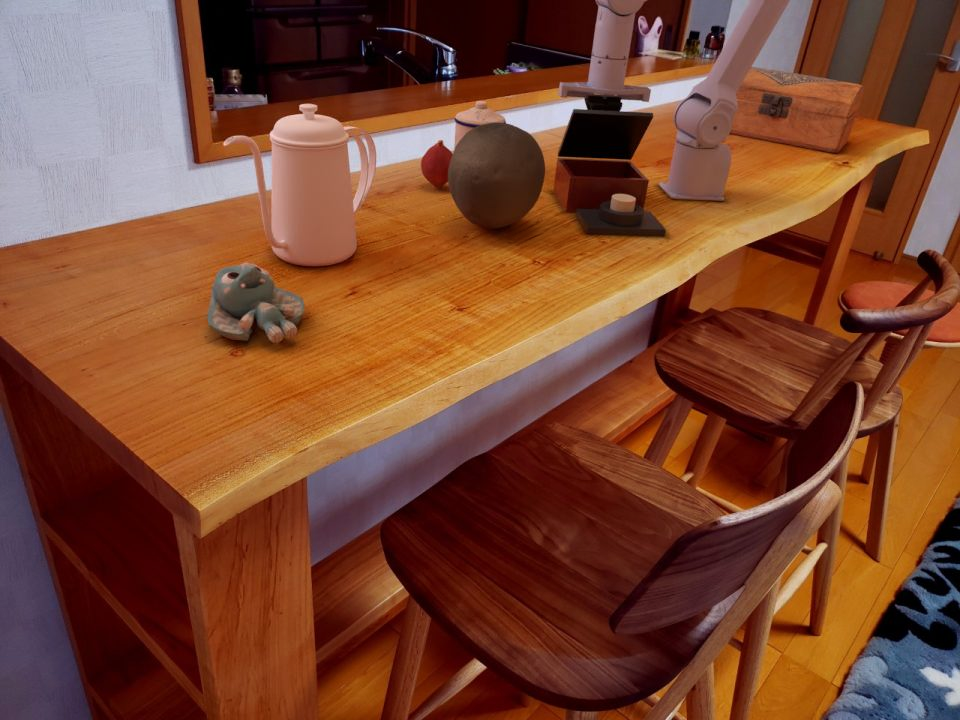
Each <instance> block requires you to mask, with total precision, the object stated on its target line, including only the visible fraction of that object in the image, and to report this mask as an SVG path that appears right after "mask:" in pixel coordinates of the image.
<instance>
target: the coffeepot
mask: <svg viewBox="0 0 960 720" xmlns="http://www.w3.org/2000/svg"><path fill="white" fill-rule="evenodd" d="M298 108H299V111H300V112H302V113H298V114H292V115H287V116H283V117H281V118H279V119H278V120H277V121H276V122H275V124H274V126H273V129H272V130H271V131H270V132H269V140H270V142H271V211H270V208H269V200H268V194H267V187H266V179H265V172H264V165H263V158H262V153H261V151H260V148H259V146H258V144H257V142H256V140H254V139H252V138H251V137H249V136H246V135H232V136H230V137H228V138H226V139H225V140H224V141H223V146H224V147H227V146H231V145H246V146H248V148H249V149H250V151H251V153H252V157H253V165H254V171H255V177H256V184H257V191H258V199H259V206H260V211H261V218H262V225H263V230H264V235H265V238H266V240H267V242H268V243H269V244H270V246H271V250H272V252H273V253H274V254H275V255H276V256H277V257H278V258H279V259H281V260H282V261H284V262H287V263H289V264H293V265H296V266H302V267H304V266H305V267H324V266H331V265H337V264H339V263H342V262H344V261H346V260H348V259H349V258H351V257H352V256H353V255H354V253H355V252H356V250H357V247H358V240H357V228H356V219H355V215H356V214H357V212H358V211H360V209H361V207H362V205H363V204H364V203H365V200H366V199H367V197H368V195H369V193H370V190H371V188H372V185H373V183H374V178H375V174H376V168H377V149H376V145H375V142H374V139H373V137H372V135H371V134H370V133H369V132H368V130H365V129H364V128H360V127H356V126H351V125H349V126H343V124H342V123H341V122H340V121H339V120H338V119H336V118H333V117H331V116H327V115H323V114H316V112H317V111H318V105H317V104H313V103H302V104H299V105H298ZM355 130H357V131H358V132H360V133H361V135H362V136H363V137H364V139H365V142H366V144H365V143H364V141H363V139H362V138H361V137H360V136H359V135H358V134H357V133H355V132H353V131H355ZM350 136H351V137H352V138H353V140H354V141H355V143H356V145H357V148H358V152H359V157H360V175H359V176H360V177H359V181H358V186H357V190H356V192H355V195H354V196H353V189H352V188H353V187H352V178H351V168H350V167H351V166H350V155H349V148H348V147H349V145H348V144H349V141H350ZM366 146H367V147H366ZM270 212H271V214H270Z"/></svg>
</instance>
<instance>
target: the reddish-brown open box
mask: <svg viewBox="0 0 960 720" xmlns="http://www.w3.org/2000/svg"><path fill="white" fill-rule="evenodd" d="M649 182H650V180H649V178H648V177H647V176H646V175H645V174H643V172H641V170H639V168H638V167H637V166H636V165H635V164H634V163H633V162H632V161H631V160H621V159H598V158H574V157H557V158H556V166H555V174H554V183H553V190H552V192H553V194H554V195H555V197H556V199H557V200H558V202H559V203H560V206H561V207H562V209H563V211H564V212H565V214H576V209H595V210H599V208H600V205H601V204H602V203H603V202H606V201H611V199H612V195H614V194H626V195H630V196H633V197H635V198H636V202H635V204H636V205H638V206H641V207H642V208H643V209H644V208H645V204H646V198H647V194H648V193H647V192H648V188H649Z"/></svg>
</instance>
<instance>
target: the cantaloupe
mask: <svg viewBox="0 0 960 720" xmlns="http://www.w3.org/2000/svg"><path fill="white" fill-rule="evenodd" d="M452 154H453V155H452V158H451V161H450V164H449V169H448V182H447V183H448V189H449V192H450V196H451V198H452V200H453V202H454V204H455V206H456V207H457V209H458V211H459V212H460V213H461V214H462V215H463V217H464V218H465V219H466V220H467V221H469V222H470V223H472V224H474V225H475V226H477V227H480V228H484V229H491V230H495V229H500V228H504V227H507V226H509V225H513V224H515V223H517V222H519V221H521V220H522V219H523V218H524V217H526V216H527V214H529V212H531V210H532V209H533V208H534V207H535V206H536V204H537V202H538V200H539V198H540V195H541V194H542V190H543V186H544V182H545V177H546V162H545V156H544V154H543V150H542V148H541V146H540V144H539V143H538V141H537V140H536V139H535V137H533V135H532V134H530V132H528V131H526V130H524V129H522V128H520V127H518V126H515V125H513V124H511V123H507V122H506V123H488V124H483V125H480V126H477V127H475V128H473V129H471V130H470V131H468V132H467V133H466V134H465V135H464V136H463V138H462V139H461V140H460V141H459V142H458V144H457V145H456V147H455V149H454V148H453V152H452Z"/></svg>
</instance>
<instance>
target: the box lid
mask: <svg viewBox="0 0 960 720" xmlns="http://www.w3.org/2000/svg"><path fill="white" fill-rule="evenodd" d="M653 119H654V113H653V112H642V111H641V112H640V111H621V110H620V111H604V110H587V109H584V108H583V109H580V108H573V109H572V112H571V115H570V118H569V120H568V123H567V126H566V129H565V131H564V134H563V137H562V139H561V143H560V145H559V148H558V151H557V158H574V159H597V160H621V161H631V160H633V158H634V155H635V153H636V151H637V150H638V148H639V146H640V144H641V141H642V140H643V137H644V136H645V134H646V133H647V130H648V128H649V127H650V124H651V123H652V121H653Z"/></svg>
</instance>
